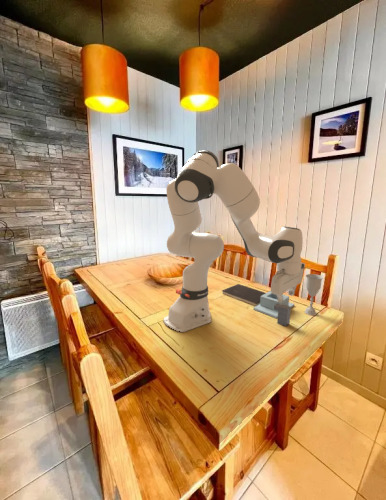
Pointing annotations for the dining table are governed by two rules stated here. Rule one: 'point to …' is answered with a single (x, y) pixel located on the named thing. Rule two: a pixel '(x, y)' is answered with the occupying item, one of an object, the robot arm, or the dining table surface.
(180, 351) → the dining table surface
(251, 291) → the hardcover book
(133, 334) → the dining table surface
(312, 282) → the chalice
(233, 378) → the dining table surface
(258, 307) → the grey socket base
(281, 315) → the bracket
